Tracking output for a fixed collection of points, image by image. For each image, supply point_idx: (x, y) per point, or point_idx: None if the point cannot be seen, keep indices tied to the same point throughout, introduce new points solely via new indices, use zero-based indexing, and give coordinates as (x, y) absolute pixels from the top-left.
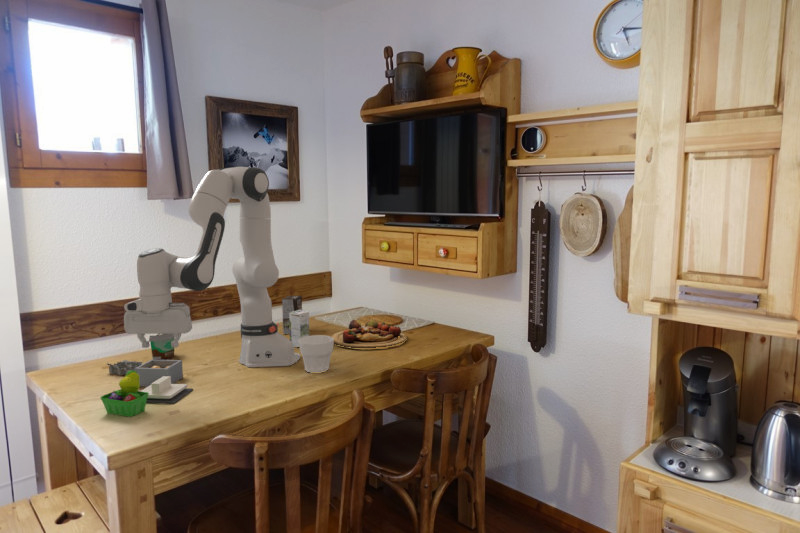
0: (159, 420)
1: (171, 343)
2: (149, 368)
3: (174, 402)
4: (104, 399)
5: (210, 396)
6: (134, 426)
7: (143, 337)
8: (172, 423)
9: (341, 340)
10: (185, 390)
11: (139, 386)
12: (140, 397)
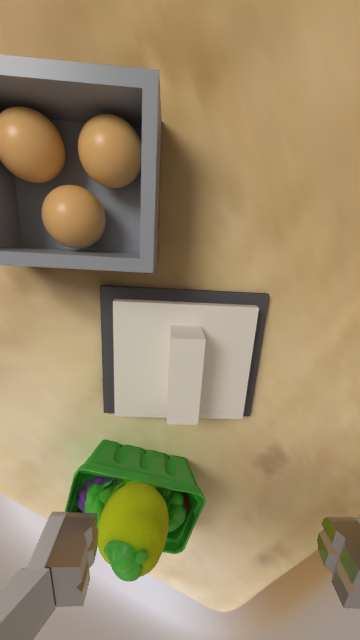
0: (253, 503)
1: (342, 594)
2: (49, 261)
3: (249, 410)
4: None
5: (343, 347)
6: (210, 532)
7: (3, 638)
8: (291, 514)
9: None
10: None
11: (166, 506)
12: (194, 524)
